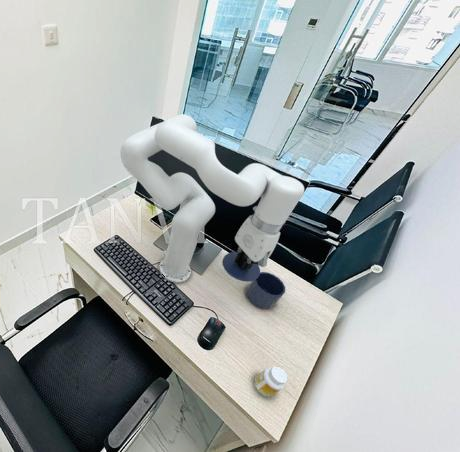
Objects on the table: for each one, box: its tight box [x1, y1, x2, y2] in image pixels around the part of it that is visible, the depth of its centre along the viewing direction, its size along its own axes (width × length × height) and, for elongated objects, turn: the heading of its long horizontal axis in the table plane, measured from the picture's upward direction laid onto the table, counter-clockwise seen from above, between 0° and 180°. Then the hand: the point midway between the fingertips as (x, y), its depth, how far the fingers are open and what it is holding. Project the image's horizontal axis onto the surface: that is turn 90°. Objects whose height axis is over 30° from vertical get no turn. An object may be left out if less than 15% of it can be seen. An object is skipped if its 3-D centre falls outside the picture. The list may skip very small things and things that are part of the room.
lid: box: [221, 251, 261, 283], centre depth 79 cm, size 11×11×6 cm
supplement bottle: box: [254, 366, 288, 397], centre depth 70 cm, size 5×5×10 cm
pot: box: [245, 271, 286, 310], centre depth 93 cm, size 10×10×8 cm
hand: (241, 264), depth 80 cm, fingers closed on lid, 2 cm apart
